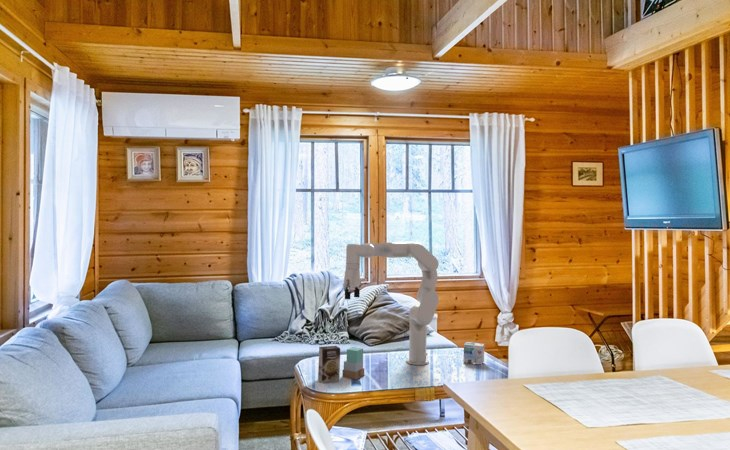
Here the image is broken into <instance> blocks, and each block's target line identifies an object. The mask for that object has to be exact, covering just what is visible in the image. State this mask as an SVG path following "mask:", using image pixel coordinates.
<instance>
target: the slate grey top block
mask: <svg viewBox="0 0 730 450" xmlns="http://www.w3.org/2000/svg"><path fill="white" fill-rule="evenodd" d="M363 368H364V360H363V361H361V362H359V363H353V362H347V359H346V360H344V361H343V369H344V370H348V371H353V372H357V371H359V370H361V369H363Z"/></svg>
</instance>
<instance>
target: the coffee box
mask: <svg viewBox="0 0 730 450" xmlns="http://www.w3.org/2000/svg"><path fill="white" fill-rule="evenodd" d="M318 349H319V350H318V371H317V372H318V373H317V374H318V375H317V380H318V381H319V382H320V383H321V384H328V383H327V382H329V383H337V382H338V383H339V382H340V374H341V373H340V370H341V347H339V346H337V345H329V346H328V345H327V346H319V347H318Z"/></svg>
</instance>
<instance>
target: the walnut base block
mask: <svg viewBox="0 0 730 450" xmlns="http://www.w3.org/2000/svg"><path fill="white" fill-rule="evenodd" d="M341 371H342V375H341V376H342V378H343V379H344V378H346V379H350V380H354V381H355V380H356V381H357V380H359V379H361V378H364V376H365V368H364V367H363V369H361V370H359V371H357V372H353V371H348V370H344V368H343V369H342V370H341Z"/></svg>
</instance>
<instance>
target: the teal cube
mask: <svg viewBox="0 0 730 450" xmlns="http://www.w3.org/2000/svg"><path fill="white" fill-rule="evenodd" d="M346 360H347V362H353V363H359V362H361V361H363V362H364V348H363V347H362V348H361V347H356V346H351V347H349V348H347V349H346Z"/></svg>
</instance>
